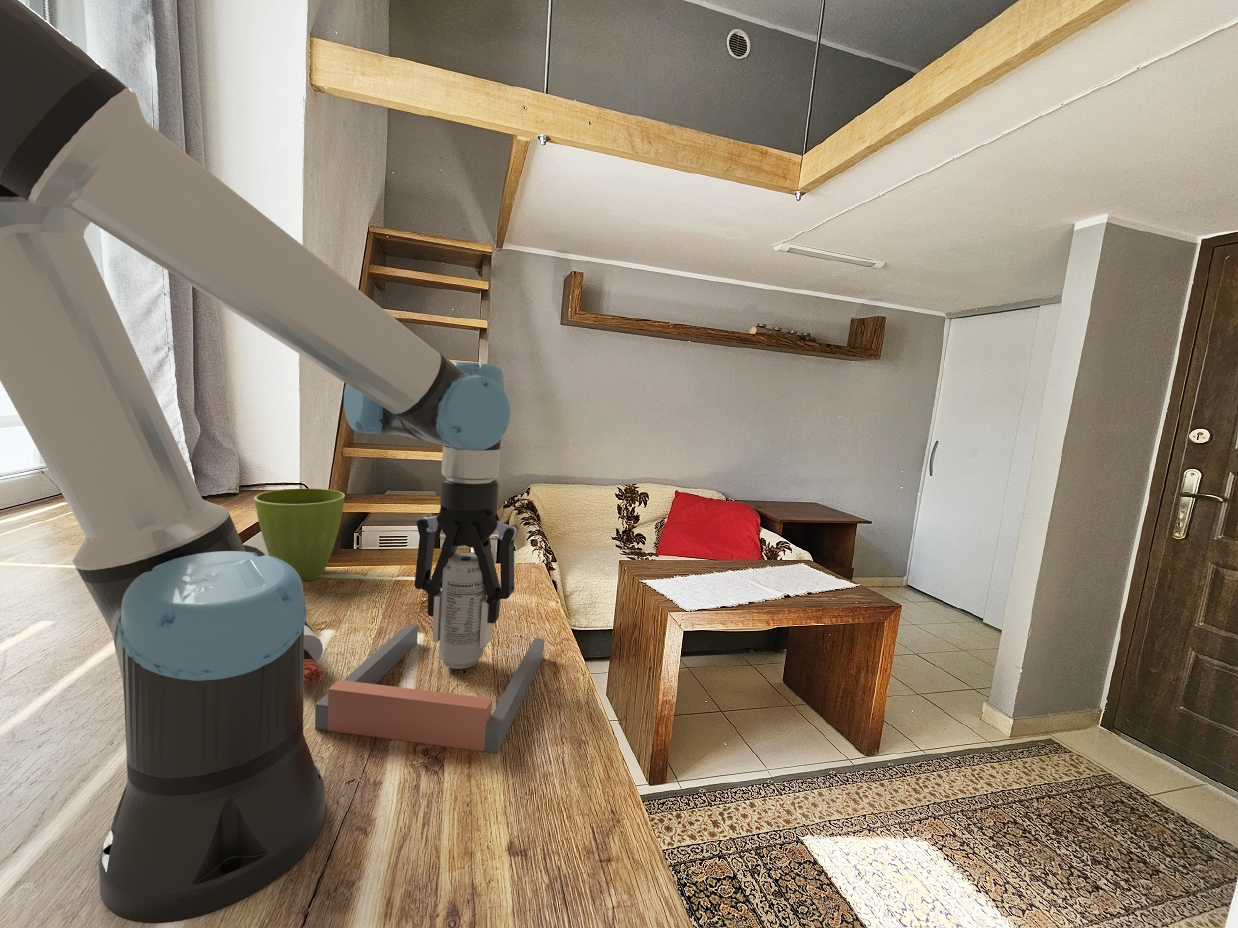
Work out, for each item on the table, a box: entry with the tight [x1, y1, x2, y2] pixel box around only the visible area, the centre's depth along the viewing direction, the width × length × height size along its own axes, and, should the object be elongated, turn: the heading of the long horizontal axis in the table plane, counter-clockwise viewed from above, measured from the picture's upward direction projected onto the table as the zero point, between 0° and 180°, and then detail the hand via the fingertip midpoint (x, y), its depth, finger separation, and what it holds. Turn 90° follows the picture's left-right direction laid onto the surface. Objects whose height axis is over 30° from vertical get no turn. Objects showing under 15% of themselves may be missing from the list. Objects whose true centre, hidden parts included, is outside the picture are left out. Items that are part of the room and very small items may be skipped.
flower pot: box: [254, 488, 346, 582], centre depth 105 cm, size 15×15×16 cm
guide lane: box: [314, 623, 545, 754], centre depth 71 cm, size 22×21×5 cm
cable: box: [243, 544, 324, 686], centre depth 78 cm, size 10×34×10 cm, turn 46°
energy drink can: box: [438, 551, 487, 670], centre depth 76 cm, size 6×6×15 cm
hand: (462, 640), depth 76 cm, fingers closed on energy drink can, 6 cm apart
